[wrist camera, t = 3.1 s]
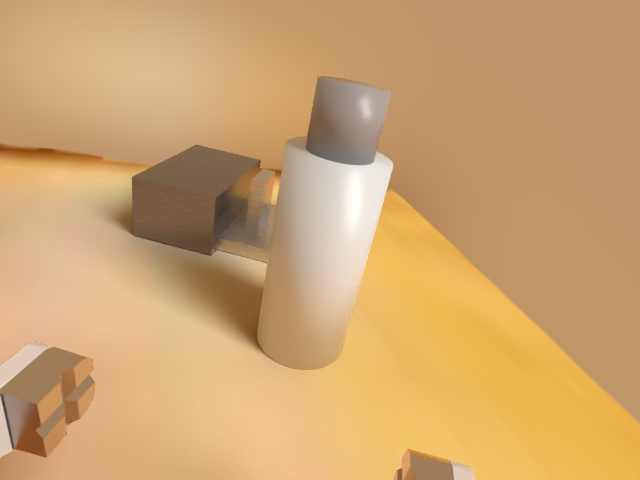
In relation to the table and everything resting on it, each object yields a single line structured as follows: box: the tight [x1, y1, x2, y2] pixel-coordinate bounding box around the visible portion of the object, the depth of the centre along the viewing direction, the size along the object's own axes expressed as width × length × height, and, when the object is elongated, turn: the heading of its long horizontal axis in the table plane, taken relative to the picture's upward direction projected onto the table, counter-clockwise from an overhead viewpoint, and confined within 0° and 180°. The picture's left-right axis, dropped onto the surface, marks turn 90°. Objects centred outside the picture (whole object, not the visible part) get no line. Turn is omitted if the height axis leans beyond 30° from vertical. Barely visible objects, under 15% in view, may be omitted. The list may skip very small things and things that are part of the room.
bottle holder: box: [132, 145, 276, 263], centre depth 33 cm, size 16×10×5 cm, turn 80°
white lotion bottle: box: [257, 76, 393, 370], centre depth 21 cm, size 5×5×14 cm
